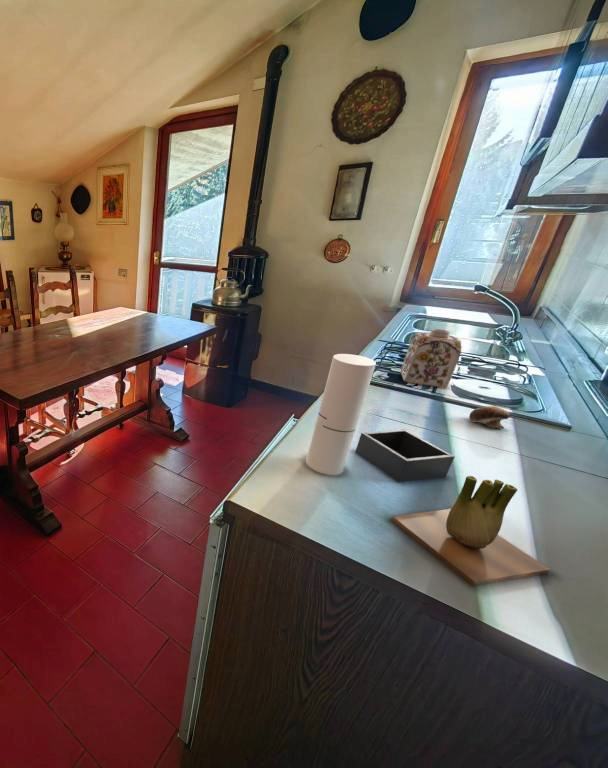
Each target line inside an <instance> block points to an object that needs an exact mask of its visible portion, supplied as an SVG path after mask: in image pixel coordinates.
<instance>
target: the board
mask: <svg viewBox="0 0 608 768" xmlns="http://www.w3.org/2000/svg"><path fill="white" fill-rule="evenodd" d="M450 510H451V508H446V509H439V510H430V511H423V512H415V513H405V514H398V515H392V516H391V518H390V521H392V522H394V524H396V525H397V526H398V527H399V528H401V529H402V530H403V531H404V532H406V533H407V534H408V535H409V536H411V538H413V539H414V540H415V541H416V542H418V543H419V544H421V545H422V546H423V547H425V549H426V550H428V551H429V552H430V553H431V554H433V555H434V556H436V558H438V559H439V560H440V561H442V562H443V563H444V564H446V566H448V567H449V568H450V569H451V570H453V571H454V572H455V573H456V574H458V575H459V576H460V577H461V578H463V580H465V581H467V582H468V583H469V584H470V585H471V586H474V587H475V586H479V585H485V584H486V585H487V584H493V583H498V582H503V581H510V580H517V579H523V578H527V577H533V576H540V575H546V574H549V572H550V571H551V569H550V568H549V567H548V566H546V565H544V564H543V563H541V562H540V561H538V560H537V559H535V558H534V557H533V556H531V555H530V554H527V553H526V552H524V551H523V550H522V549H520V548H518V547H517V546H515V545H514V544H513V543H511V542H509V541H508V540H507V539H506V538H503V537H502V536H500V535H499V534H498V535H497V536H496V538H495V540H494V541H493V542H492V543H491V544H489V545H487V546H486V547H485V548H482V549H476V548H471V547H467V546H465V545H463V544H461V543H460V542H459V541H457V540H456V539H455V538H453V537H452V536H451V535H449V534H448V533H447V529H446V522H447V518H448V515H449V512H450Z"/></svg>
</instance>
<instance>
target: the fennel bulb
mask: <svg viewBox="0 0 608 768" xmlns="http://www.w3.org/2000/svg"><path fill="white" fill-rule="evenodd" d="M477 482H478V480H477V478H476V477H475V476H473V475H468V476H466V477H465V479H464V483H463V485H462V487H461V491H460V492H459V494H458V496H457V498H456V500H455V502H454V504H453V505H452V507H451V508H450V509H451V510H450V512H449V515H448V518H447V522H446V529H447V533H448V534H449V535H451V536H452V537H453V538H455V539H456V540H457V541H459V542H460V543H461V544H463V545H465V546H467V547H471V548H476V549H482V548H485V547H486V546H487V545H489V544H491V543H492V542H493V541H494V540H495V538H496V536H497V535H499V533H500V530H501V529H502V525H503V522H504V521H503V520H504V516H505V511H506V509H507V507H508V506H509V503H510V502H511V500H512V499H513V497H514V496H515V495H516V493H517V492H518V488H516V486H514V485H512V484H508V483H505V482H504V481H503V480H500V479H497V478H496V479H494V481H492V480H490V479H483V480H482V481H481V483H480V484H479V486H478V488H477V489H476V485H477ZM475 489H476V490H475Z"/></svg>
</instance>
